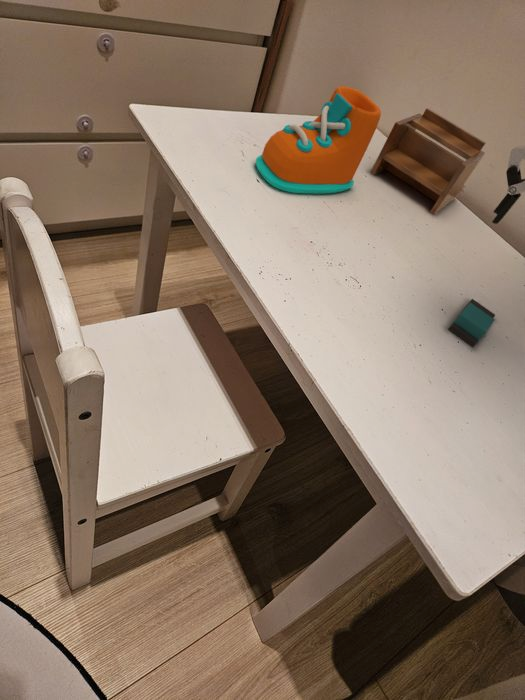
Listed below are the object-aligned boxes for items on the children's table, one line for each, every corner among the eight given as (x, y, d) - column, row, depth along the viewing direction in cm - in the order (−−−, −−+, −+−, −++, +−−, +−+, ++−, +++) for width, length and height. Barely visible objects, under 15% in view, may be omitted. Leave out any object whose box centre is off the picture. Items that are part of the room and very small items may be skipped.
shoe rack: (453, 200, 101) (490, 145, 92) (432, 215, 93) (471, 158, 84) (393, 161, 105) (423, 105, 95) (369, 173, 97) (399, 114, 88)
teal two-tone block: (467, 303, 76) (479, 290, 74) (490, 319, 75) (503, 307, 73) (446, 330, 70) (458, 317, 68) (471, 348, 69) (484, 335, 67)
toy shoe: (244, 158, 86) (268, 72, 75) (327, 160, 95) (359, 84, 84) (273, 198, 80) (304, 111, 69) (359, 195, 89) (397, 119, 78)
